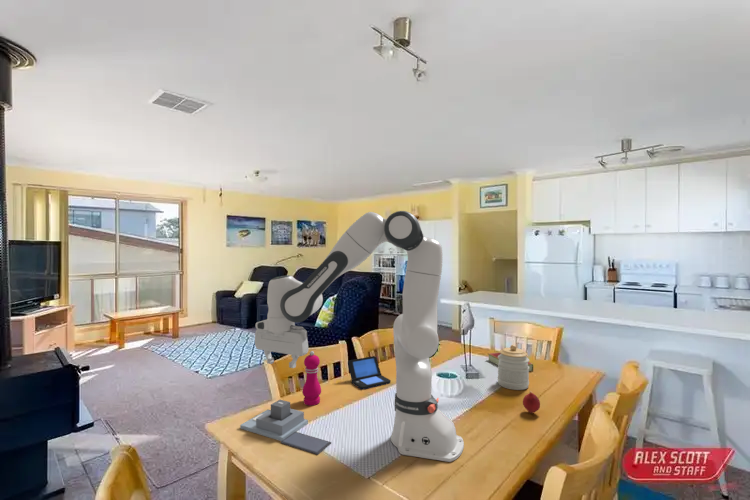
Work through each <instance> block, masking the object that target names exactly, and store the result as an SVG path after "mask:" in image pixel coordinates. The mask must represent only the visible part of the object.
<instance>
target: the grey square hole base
mask: <svg viewBox="0 0 750 500" xmlns="http://www.w3.org/2000/svg"><path fill="white" fill-rule="evenodd" d="M308 424H309V419H306V418H305V412H304V411H302V410H298V409H293V408H290V416H288V417H287V418H285V419H284V420H282V421H280V420H276V419H273V418H271V409H266V410H264V411H262V412H261V413H259V414H258V415H254V417H252V418H250V419H248V420H247V421H245V422H243V423H241V424H240V425H239V426H240V428H239V429H241V430H243V431H247V432H250V433H254V434H257V435H260V436H263V437H266V438H269V439H273V440H275V441H276V440H277V441H280V442H281V441H282V440H284V439H285V438H287V437H288V436H290V435H291V434H292V433H294V432H298V431H300V430H301V429H303V428H304V427H305V426H307V425H308Z"/></svg>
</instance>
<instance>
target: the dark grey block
mask: <svg viewBox="0 0 750 500" xmlns="http://www.w3.org/2000/svg"><path fill="white" fill-rule="evenodd" d="M290 409H291V402H290V401H287V400H284V399H278V400H277V401H275V402H273V403H271V404H270V410H271V418H273V419H276V420H280V421H282V420H284V419H285V418H287V417H288V416H290Z"/></svg>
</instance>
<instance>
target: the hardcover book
mask: <svg viewBox="0 0 750 500" xmlns="http://www.w3.org/2000/svg"><path fill="white" fill-rule="evenodd" d="M500 354H501V353H500V351H499V352H491V353H487V355H488V362H489V361H490V362H491V363H493V364H495V365H497V366H498V363H499V359H498V355H500ZM528 366H529V372H534V363H532V362H530V361H529V362H528Z"/></svg>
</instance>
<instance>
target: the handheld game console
mask: <svg viewBox="0 0 750 500" xmlns="http://www.w3.org/2000/svg"><path fill="white" fill-rule="evenodd" d="M378 361H379V360H378V358H377V356H374V355H372V356H366V357H361V358H355V359H350V360H348V361H347V366H348V370H349V375H350V378H351V384H353V385H354V386H356V387H357V388H358V389H360V390H367V389H371V388H376V387H381V386H384V385H388V384H391V381H392V380H391V379H389V378H387V377H385V376H384V375H382V373H381V372H382V371H381V368H380V366H379V362H378Z"/></svg>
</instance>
